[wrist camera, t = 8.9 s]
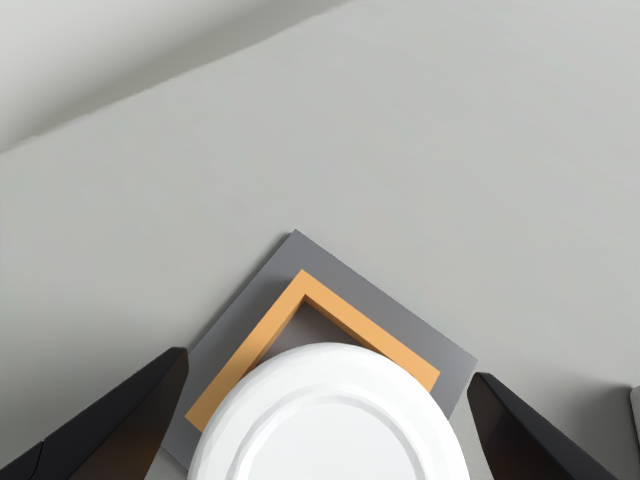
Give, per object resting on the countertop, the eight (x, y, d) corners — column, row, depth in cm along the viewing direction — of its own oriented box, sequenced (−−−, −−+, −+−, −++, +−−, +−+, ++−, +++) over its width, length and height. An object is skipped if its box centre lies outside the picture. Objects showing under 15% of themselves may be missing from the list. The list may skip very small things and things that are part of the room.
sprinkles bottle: (342, 447, 16) (488, 798, 3) (260, 428, 16) (108, 699, 4) (356, 358, 18) (489, 372, 5) (281, 341, 18) (228, 314, 5)
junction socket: (344, 611, 14) (356, 682, 11) (141, 415, 17) (104, 430, 14) (471, 359, 19) (504, 361, 16) (295, 233, 21) (294, 212, 18)
